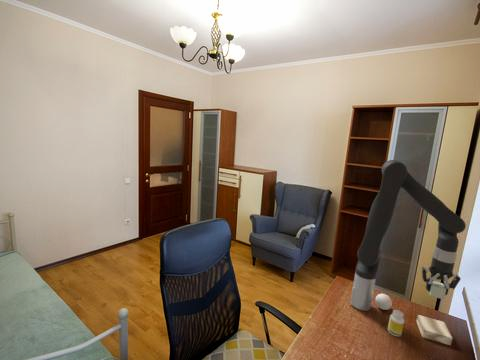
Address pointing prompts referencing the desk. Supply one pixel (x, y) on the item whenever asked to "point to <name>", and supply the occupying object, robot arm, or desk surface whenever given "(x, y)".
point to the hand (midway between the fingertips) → (435, 292)
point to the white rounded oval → (383, 301)
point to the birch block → (434, 330)
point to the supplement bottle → (396, 323)
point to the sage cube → (437, 290)
